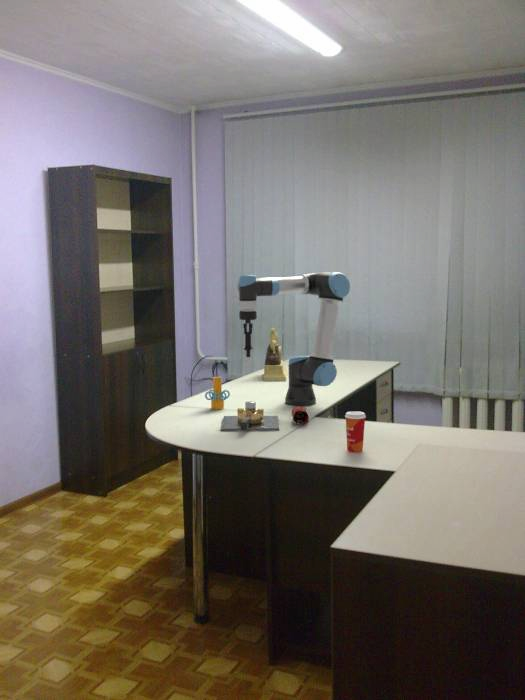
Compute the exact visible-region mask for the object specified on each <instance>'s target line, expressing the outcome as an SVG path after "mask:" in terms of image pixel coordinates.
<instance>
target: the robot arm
mask: <svg viewBox="0 0 525 700" xmlns="http://www.w3.org/2000/svg"><path fill="white" fill-rule="evenodd" d="M236 288H237V291H238V293H239V294H238V297H239V298H238V301H239V302H238V303H237V305H238V307H239V310H240V311H239V315H238V316H239V320H241V321H245V322H244V323H242V324H243V334H244V335H245V336H244V338H245V339H244V341H245V343H244V347H243V350H244V365H252V350H253V349H254V348H253V347H252V334H253V325H254V324H253V323H251V322H252V321H255V320H257V313H258V311H256V310H257V308H258V306H257V305H258V304H257V303H258V301H257V297H273V296H274V297H275V296H277V295H278V294H292V293H293V294H295V293H299V295H311V296H318V298H317V299H318V301H319V302H320V307H319V313H318V320H317V327H316V332H315V338H314V345H313V351H312V353H311V354H309V355H299V356H291V357H290V358H289V359H288V365H287V366H288V389H287V392H286V393H285V397H284V400H285V401H284V403H285V404H287V405H289V406H310V405H315V404H316V403H317V397H316V394H315V391H314V389H313V387H314V386H316V387H328V386H330V385H331V384H332V383H333V382H334V381H335V380H336V377H337V374H338V369H337V368H336V365H335V364H334V360H335V359H334V357H333V355H332V353H333V352H332V351H333V346H334V339H335V332H336V326H337V320H338V313H339V306H340V305H341V304H343V302H344V298H345V297H347V295H349V293H350V291H351V284H350V279H349V278H348V277H347V276H346V274H344V273H343V272H338V271H318V272H317V271H316V272H311V273H304V274H300V275H298V276H285V277H283V276H281V277H279V276H278V277H257V275H256V274H242V275H239V280H238V282H237V286H236ZM313 385H314V386H313Z"/></svg>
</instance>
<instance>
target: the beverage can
mask: <svg viewBox="0 0 525 700" xmlns="http://www.w3.org/2000/svg"><path fill="white" fill-rule="evenodd" d="M291 416H292V419H291V420H292V421H293V423H295V425H297V426H299V427H301V426H303V427H304V426H305V425H308V423H309V421H310V416H309V413H308V411H307V409H306V408H305V407H304V406H303V405H296V406H295V407H294V408H293V409H292V410H291ZM298 420H300V422H301V425H300V423H299V421H298Z"/></svg>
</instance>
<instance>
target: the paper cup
mask: <svg viewBox="0 0 525 700" xmlns="http://www.w3.org/2000/svg"><path fill="white" fill-rule="evenodd" d="M344 417H345V428H346V429H345V431H346V433H345V434H346V449H347V451H348V452H351V453H360V452H363V450H364V449H363V448H364V435H365V423H366V417H367V415H366V413H365V412H363V411H359V410H358V411H357V410H356V411H355V410H353V411H347V412H346V413H345V415H344Z"/></svg>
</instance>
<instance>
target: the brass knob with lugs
mask: <svg viewBox="0 0 525 700" xmlns="http://www.w3.org/2000/svg"><path fill="white" fill-rule="evenodd" d="M236 411H237V416H238V423H241V431H240V432H248V431H247V430H248V428H249V426H250V425H251V424H260V423H263V416H264V412H265V411H264V408H257V409H256V412H253V413H252V411H246V412H245V407H243V408H240V407H238V408H237V409H236Z"/></svg>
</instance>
